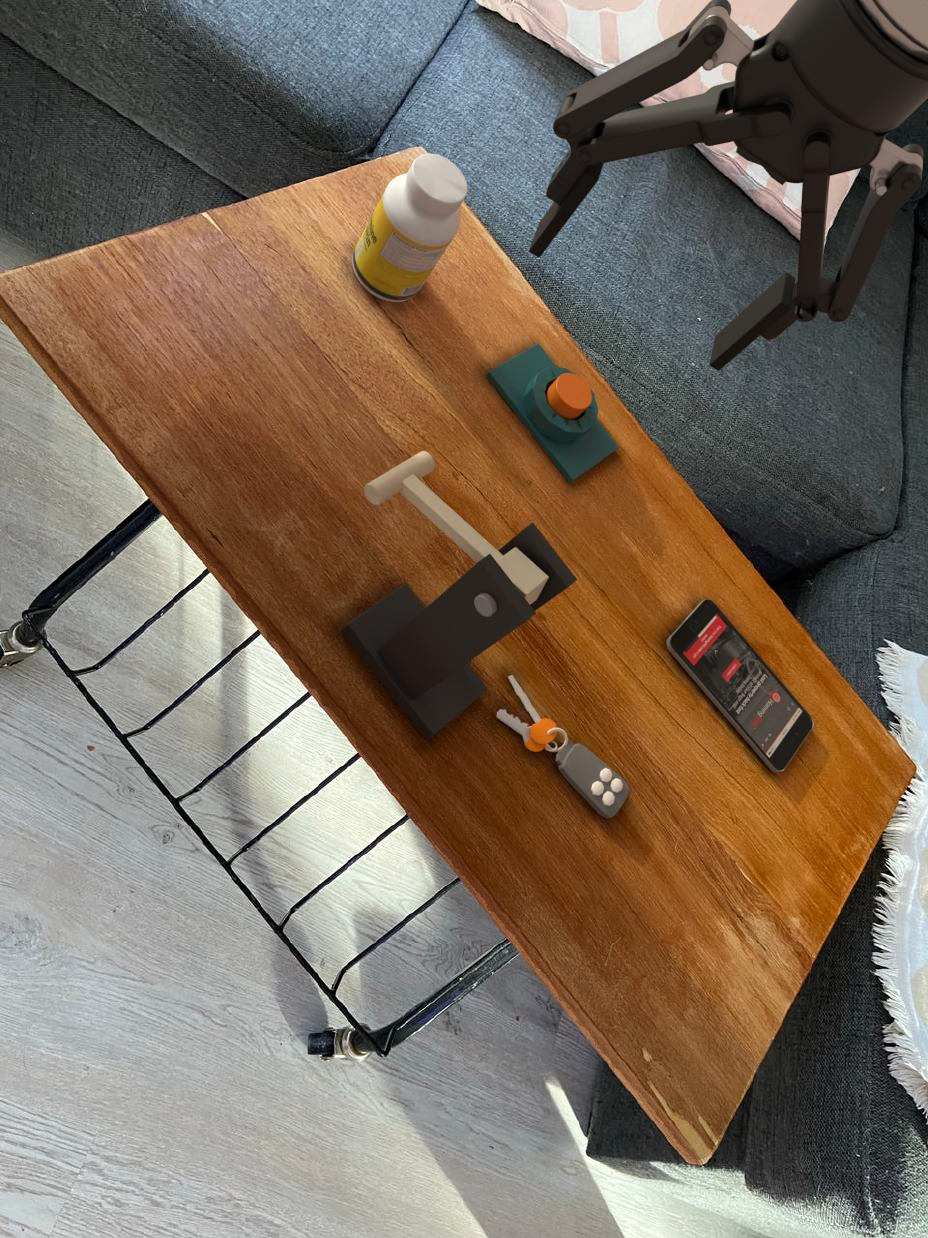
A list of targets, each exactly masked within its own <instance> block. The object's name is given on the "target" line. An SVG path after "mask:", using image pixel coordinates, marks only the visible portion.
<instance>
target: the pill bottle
mask: <svg viewBox="0 0 928 1238" xmlns="http://www.w3.org/2000/svg"><path fill="white" fill-rule="evenodd" d="M467 194H468V183H467V179H466V177H465V176H464V174H463V172H462V171H461V170H460V169H459V167H458V166H457V165H456V164H455V163H454V162H452V161H451V160H449V159H448V158H446V157H444V156H442V155H439V154H436V153H423V154H421V155H418V156H417V157H416V158H415V159H414V160H413V162H412V164H411V166H410V167H409V168H408V171H407V173H402V174H400V175H397V176H396V177H394V178H392V179H391V180H390V181H389V183H388V184H387V186H386V187H385V189H384V191H383V194H382V195H381V198H380V199H379V201H378V203H377V205H376V207H375V209H374V210H373V213H372V215H371V216H370V219H369V220H368V222H367V224H366V226H365V228H364V230H363V232H362V234H361V236H360V237H359V239H358V241H357V243H356V245H355V247H354V250H353V253H352V259H351V261H352V262H351V263H352V264H351V265H352V269H353V272H354V275H355V277H356V278H357V280H358V282H359V283H360V284H361V286H362V287H363V288H364V289H365V290H366V291H367V292H369V293H370V294H371V295H373V296H374V297H376V298H378V299H381V300H383V301H385V302H389V303H390V302H391V303H403V302H406V301H408V300H409V301H410V300H411V299H412V298H414V297H415V296H417V295H418V293H419V292H420V291H421V289H422V288H423V286H424V284H426V281H427V280H428V278H429V276H430V275H431V274H432V272H433V270H434V269H435V267H436V265H437V264H438V263H439V261H440V259H441V258H442V256H443V254H444V253H445V252H446V250H447V248H448V247H449V246H450V244H451V242H452V241H453V239H454V238H455V237H456V234H457V233H458V231H459V228H460V224H461V214H460V208H461V206H462V205H463V202H464V201H465V199H466V197H467Z"/></svg>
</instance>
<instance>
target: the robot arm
mask: <svg viewBox="0 0 928 1238" xmlns="http://www.w3.org/2000/svg"><path fill="white" fill-rule="evenodd" d="M731 13H732V5H731V3H730V1H729V0H710V1H709V2H708V3H707V4H706V5H705V6H704V7H703V8H702V10H701V11H700V12H699V13H697V15H696V16H695V17H694V18H693V20H692V21H690V23H689V24H688V25H687V26H686V27H685V28H684V29H682V30H680V31H679V32H677V33H675V34H672V35H671V36H669V37H667V38H666V39H664V40H662V41H660V42H657V43H656V44H655V45H653V46H650V47H649V48H646V49H645V50H644V51H641V52H640V53H637V54H636V55H634V56H632V57H631V58H629V59H626V60H625V61H623V62H621V63H619V64H617V65H616V66H614V67H612V68H610V69H609V70H607V71H605V72H602V73H601V74H599V75H597V76H595V77H594V78H591V79H590V80H588V81H586V82H584V83H583V84H580V85H578V86H576V87H575V88H573V89H571V90H569V91H568V92H567V93H565V94H564V95H563V98H562V101H561V103H560V106H559V109H558V111H557V114H556V116H555V119H554V122H553V124H552V130H553V133H554V134H555V135H556V137H558V138H559V139H562V140H563V139H564V140H565V141H566V142H567V143H568V146H569V149H568V150H567V153H566V154H565V155H564V157H563V158H562V159H561V161H560V162H559V163H558V164H557V167H556V168H555V169H554V171H553V172H552V174H551V177H550V180H549V183H548V185H547V188H546V193H545V194H546V195H545V197H546V198H548V199H549V200H551V201H552V204H551V206H550V207H549V208H548V210H547V211H546V212H545V214H544V215H543V216H542V218H541V219H540V221H539V222H538V224H537V227H536V230H535V233H534V236H533V238H532V241H531V244H530V247H529V250H528V253H531V254H532V255H534V256H535V257H537V258H538V259H540V258H541V256H542V255H543V254H544V253H545V251H546V250H547V249H548V247H549V246H550V245H551V243H553V241H554V239H555V238H556V237H557V235H558V234H560V232H561V230H562V229H563V228H564V226H565V225H566V224H567V222H569V220H570V219H571V218H572V216H573V214H574V213H575V212H576V210H577V209H579V207H580V206H581V204H582V203H583V201H584V200H585V199H586V198H587V195H589V193H590V192H591V191H592V189H594V187H595V186H596V184H597V183H598V182H599V179H600V177H601V174H602V171H603V167H604V164H607V163H611V162H615V161H616V162H617V161H620V160H625V159H631V158H634V157H640V156H645V155H649V154H654V153H658V152H664V151H669V150H673V149H678V148H682V147H686V146H692V145H696V144H704V146H706V147H712V146H718V145H723V144H728V143H734V145H735V146H736V150H735V153H736V154H738V155H739V156H740V157H742V158H743V159H745V160H746V161H748V162H750V163H753V164H755V165H757V166H761V167H762V168H763V170H765V172H766V173H767V174H768V175H769V177H770V178H771V179H773V180H774V181H776V182H777V183H778V184H780V185H781V186H784V184H786V183H789V184H802V185H801V202H800V212H801V214H800V229H799V231H800V232H799V245H798V248H799V249H798V262H797V263H798V266H797V279H796V277H795V276H793V275H792V274H790V273H789V272H787V271H784V273H782V275H780V276H779V277H778V278H777V279H775V281H774V282H773V283H771V284H770V285H769V286H768V287H767V288H766V289H765V290H764V291H763V292H761V294H759V295H758V296H757V297H756V298H755V299H754V300H753V301H752V302H751V303H749V305H747V306H746V307H745V308H744V309H743V310H742V311H740V312H739V314H737V315H736V316H735V317H734V318H733V319H732V320H731V321H730V322H729V323H727V324H726V325H725V326H724V327H723V328H722V329H721V330H720V331H719V332H718V333H717V334H715V336H714V340H713V345H712V350H711V353H710V354H711V355H710V359H709V365H708V366H710V367H711V368H713V369H714V370H716V371H717V372H720V371H721V370H722V369H723V368H724V367H725V366H727V365H728V364H729V363H730V362H731V361H732V360H734V359H735V358H736V357H737V356H738V355H739V354H741V353H742V352H743V351H744V350H745V349H746V348H748V347H749V346H750V345H751V344H752V343H753V342H755V341H756V340H757V339H758V338H759V337H761V338H763V339H764V340H766V341H770V340H771V341H772V340H773V339H777V338H778V337H779V336H780V335H782V333H783V332H785V331H786V330H787V329H788V328H790V327H791V326H792V325H793V324H794V323H796V322H797V321H799V322H802V323H808V322H811V321H813V320H815V318H816V317H817V314H818V312H820V313H824V314H827V316H828V319H829V320H830V321H831V322H835V323H841V322H844V321H846V320H848V318H849V317H850V316H851V313H852V311H853V309H854V307H855V304H856V302H857V300H858V298H859V295H860V293H861V291H862V289H863V286H864V284H865V282H866V279H867V278H868V275H869V273H870V270H871V268H872V265H873V263H874V262H875V259H876V257H877V255H878V253H879V251H880V248H881V246H882V244H883V242H884V239H885V238H886V235H887V232H888V230H889V228H890V226H891V223H892V221H893V219H894V216H895V214H896V213H898V212H899V210H900V209H901V208H902V207H903V206H904V205H905V204H906V203H907V201H909V199H910V198H911V197H913V195H914V194H915V193H916V192H917V191H918V190H919V189H920V187H921V185H922V178H923V166H924V165H923V164H924V162H923V161H924V149H923V147H922V146H920V145H919V144H916V143H909V144H907V145H904V146H903V147H900V146H898V145H897V144H896V143H893V142H892V141H890V140H888V139H886V137H887V136H888V135H889V134H890V132H891V131H893V130H895V129H896V128H898V127H899V126H900V125H901V124H902V123H903V122H904V121H905V120H906V119H907V118H909V117H910V116H911V115H912V113H914V112H915V111H916V110H917V109H918V108H919V107H920V106H921V105H922V104H923V103H924V102H925V101H926V100H927V99H928V0H796V1H795V2H793V4H792V6H791V7H790V8H789V9H788V10H787V11H786V13H785V14H784V16H782V18H781V19H780V20H779V21H778V22H777V24H776V25H775V27H773V28H772V29H771V30H770V31H769V32H767V33H765V34H763V35H762V36H760V37H758V38H755V39H753V38H751V36H750V35H749V34H747V33H746V32H745V31H744V29H743V28H741V27H740V26H739V25H738V24H737V23H736V22H735V21H734V20H733V19H732V18H731V15H732V14H731ZM723 64H731V65H733V66H734V67H735V68H736V69H735V73H734V80H732V81H728V82H724V83H720V84H717V85H716V84H715V85H713V86H711V87H710V88H709V89H708V90H706V91H705V92H703V93H700V94H695V95H691V96H687V97H682V98H678V99H674V100H670V101H666V102H661V103H657V104H652V105H649V106H648V105H647V106H644V107H639V108H636V109H630V108H632V107H634V106H636V105H638V104H640V103H642V102H644V101H646V100H648V99H649V98H651V97H654V96H656V95H658V94H660V93H661V92H663V91H665V90H666V91H667V89H669V88H671V87H673V86H675V85H678V84H679V83H681V82H683V81H685V80H687V79H688V78H689V77H691V76H692V75H693V74H695V73H696V72H698V70H699V69H700V68H702V69H703V70H704V71H706V72H710V71H712V70H713V69H716V68H718V67H719V66H721V65H723ZM628 109H630V110H628ZM626 110H627V111H626ZM730 111H732V112H730ZM728 112H730V113H728ZM867 166H870V167H871V170H870V173H869V174H870V175H869V183H868V184H869V188H870V190H869V192H868V195H867V198H866V200H865V202H864V205H863V208H862V209H861V212H860V214H859V217H858V219H857V222H856V224H855V226H854V229H853V232H852V234H851V236H850V239H849V242H848V244H847V246H846V249H845V251H844V254H843V255H842V259H841V261H840V263H839V266H838V268H837V270H836V273H835V276H834V277H833V279H830V278H826V277H823V266H824V265H823V264H824V254H825V241H826V240H825V239H826V229H827V217H828V216H827V215H828V204H829V203H828V202H829V191H830V180H831V176H835V175H840V174H844V173H848V172H851V171H855V170H860V169H863V168H865V167H867Z"/></svg>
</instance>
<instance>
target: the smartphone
mask: <svg viewBox="0 0 928 1238" xmlns="http://www.w3.org/2000/svg"><path fill="white" fill-rule="evenodd" d="M666 649H667V650H668V652H669V653H670V654H671V655H672V656H673V658H674V659H675V660H676V661H677V663H679V665H680V666H681V667H682V668H683V669H684V671H686V673H687V674H688V675H689V676H690V677H691V679H693V681H694V682H695V683H696V684H697V686H698V687H699V688H700V689H701V690H702V691H703V693H705V695H706V696H707V697H708V699H710V701H711V702H712V703H713V704H714V706H715V707H716V708H717V709H718V710H719V711H720V713H721V714H723V716H724V717H725V719H727V721H728V722H729V723H730V724H731V725H732V726H733V728H734V729H735V730H736V731H737V732H738V733H739V735H740V736H741V737H742V739H744V741H745V742H746V743H747V744H748V745H749V746H750V748H751V749H752V750H753V751H754V752H755V753H756V755H757V756H758V757H759V758H760V759H761V761H762V762H763V763H764V764H765V766H767V767H768V769H769V770H770V771H771V772H772V773H775V774H779V773H782V772H784V771H785V770H786V768H787V766H788V765H789V764H790V762H791V761H792V760H793V758H794V756H795V755H796V753H797V752H798V751H799V749H800V748H801V747H802V745H803V743H804V742H805V740H806V739H807V738H808V736H809V735H810V733H811V732H812V730H813V729H814V727H815V722H814V719H813V717H812V716H811V714H810V713H809V711H808V710H806V708H804V706H803V705H802V704H801V703H800V701H798V699H797V698H796V697H795V696H794V694H792V692H791V691H790V690H789V688H788V687H786V685H785V684H784V683H783V681H781V679H780V678H779V677H778V676H777V675H776V673H774V671H773V670H772V669H771V668H770V666H769V665H768V664H767V663H766V662H765V660H764V659H763V658H762V657H761V656H760V654H758V652H757V651H756V650H755V649H754V648H753V646H752V645H751V644H750V643H749V642H748V641H747V640H746V638H745V637H744V636H743V634H742V633H741V632H740V631H739V630H738V629H737V628H736V626H735V625H734V624H733V623H732V622H731V621H730V619H729V618H728V617H727V616H726V615H725V613H724V612H723V611H722V610H721V609H720V607H719V606H718V605H717V603H715V602H714V600H712V599H711V598H710V599H709V598H705V599H703V600H701V601H700V602H699V603H698V604H697V605H696V606H695V607H694V608H693V610H692V611H691V612H690V613H689V614H688V615H687V616H686V618H685V619H684V620H683V621H682V622H681V623H680V624H679V625H678V627H677V628H676V629H675V630H674V631H673V632H672V633H671V635H669V637H668V638H667V639H666Z"/></svg>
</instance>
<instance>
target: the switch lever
mask: <svg viewBox="0 0 928 1238" xmlns="http://www.w3.org/2000/svg"><path fill="white" fill-rule="evenodd" d="M435 469H436V463H435V459H434V457H433V456H432V455H431V453H429V452H428V451H426V450H422V451H419V452H417V453H416V454H414V455H412V456H411V457H409V458H408V459H406V460H404V461H403V462H401V463H399V464H397V465H396V466H394V467H393V468H391V469H389V470H387V471H386V472H384V473H382V474H381V475H380V476H377V477H376V478H375V479H373V480H371V481H369V482H367V483H366V484H365V485H364V487H363V493H364V496H365V498H366V499H367V501H368V502H370V503H371V504H372V505H374V506H379V505H380V504H382V503H384V502H386V501H387V500H389V499H390V498H392V497H394V496H395V495H397V494H399V493H400V494H401V495H402V496H403V497H404V498H405V499H406V500H407V501H408V502H410V503H411V504H412V505H413V506H414V507H415V508H416V509H417V510H418V511H419V512H421V513H422V514H423V515H424V516H425V517H426V518H427V519H428V520H429V521H430V522H431V523H433V524H434V525H435V526H436V527H437V528H438V529H439V530H440V531H441V532H442V533H443V534H445V535H446V536H447V537H448V538H449V539H450V540H451V541H452V542H453V543H454V544H456V545H457V546H458V547H459V548H460V549H461V550H462V551H463V552H464V553H465V554H466V555H468V556H469V557H470V558H471V559H472V560H473V561H474V562H475V564H476V563H478V562H479V561H480V560H481V559H483V558H484V557H486V556H487V555H488V554H491V555H492V556H493V558H494V559H495V560H496V562H497V563H498V564H499V565H500V567H501V568H502V569H503V571H504V572H505V573H506V574H507V576H508V577H509V578H510V580H511V581H512V582H513V584H514V585H515V586H516V587H517V589H518V590H519V591H520V593H521V594H522V595H523V596H524V598H525V599H526V600H527V602H528V603H529V604H530V605H531V604H532V603H533V602H534V601H536V600H537V598H538V596H539V595H540V593H541V591H542V589H543V587H544V585H545V584H546V582H547V580H548V578H549V576H547V575H546V574H545V573H544V572H543V571H542V570H541V569H540V568H539V567H537V566H536V565H535V564H534V563H533V562H532V561H531V560H530V559H529V558H527V557H526V556H525V555H524V554H523V553H522V552H521V551H520V550H519V549H517V548H516V547H515V548H513V549H512V550H511V551H509V552H508V553H506V554H505V555H504V556H503V555H502V554H501V553H500V552H499V551H498V550H499V549H497V548H496V547H494V546H493V545H492V544H491V543H490V542H489V541H488V540H486V539H485V537H483V536H482V535H481V534H480V533H479V532H478V531H477V530H476V529H474V527H472V526H471V525H470V524H469V523H468V522H467V521H466V520H464V519H463V518H462V517H461V515H459V514H458V513H457V512H455V510H454V509H452V508H451V507H450V506H449V505H448V504H447V503H446V502H444V500H443V499H441V498H440V496H438V495H437V494H436V493H435V492H433V491H432V489H430V488H429V487H428V486H427V485H426V484H425V483H424V482H423V481H422V480H420V479H422V478H424V477H426V476H427V475H428V474H430V473H431V472H434V470H435Z"/></svg>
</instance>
